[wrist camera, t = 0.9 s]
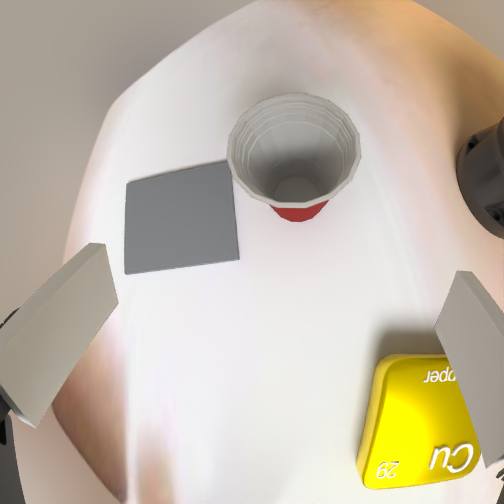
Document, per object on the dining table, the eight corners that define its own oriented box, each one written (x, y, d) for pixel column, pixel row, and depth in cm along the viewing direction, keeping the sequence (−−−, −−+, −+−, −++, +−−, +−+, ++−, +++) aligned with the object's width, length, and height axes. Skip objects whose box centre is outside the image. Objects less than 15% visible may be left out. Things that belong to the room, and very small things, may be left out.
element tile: (484, 352, 27) (506, 354, 22) (459, 463, 24) (476, 477, 19) (375, 352, 29) (388, 357, 25) (351, 474, 26) (358, 493, 22)
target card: (230, 163, 36) (229, 161, 36) (239, 259, 33) (238, 258, 33) (128, 185, 38) (126, 183, 37) (127, 274, 35) (124, 273, 34)
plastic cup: (231, 186, 36) (202, 128, 24) (308, 144, 35) (309, 75, 24) (278, 264, 33) (268, 233, 21) (361, 215, 33) (389, 163, 21)
